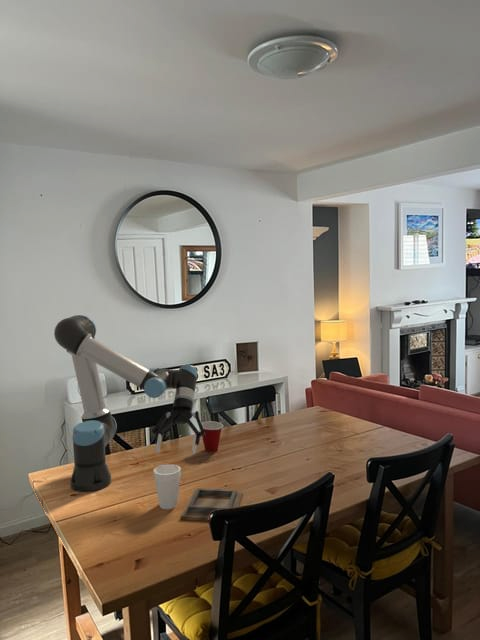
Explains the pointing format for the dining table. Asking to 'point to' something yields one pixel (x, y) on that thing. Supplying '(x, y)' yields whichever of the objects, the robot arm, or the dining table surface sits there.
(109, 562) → the dining table surface
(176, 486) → the foam cup
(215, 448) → the plastic cup
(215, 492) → the holder board
